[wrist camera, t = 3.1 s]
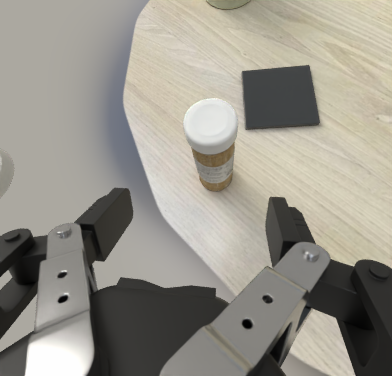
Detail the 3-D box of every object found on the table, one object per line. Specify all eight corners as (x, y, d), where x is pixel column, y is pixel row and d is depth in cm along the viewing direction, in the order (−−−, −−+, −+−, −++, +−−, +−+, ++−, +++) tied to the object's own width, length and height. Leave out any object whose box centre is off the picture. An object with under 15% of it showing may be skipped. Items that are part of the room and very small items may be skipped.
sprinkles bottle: (211, 155, 32) (203, 87, 19) (239, 172, 31) (249, 111, 18) (192, 180, 31) (171, 126, 19) (219, 198, 30) (216, 154, 17)
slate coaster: (245, 129, 33) (245, 127, 32) (241, 74, 36) (241, 71, 35) (318, 125, 32) (320, 122, 31) (308, 68, 34) (309, 64, 34)
